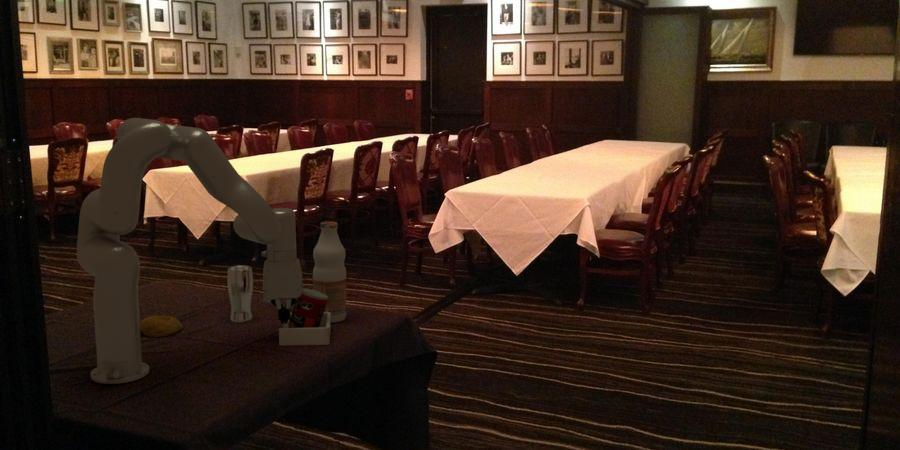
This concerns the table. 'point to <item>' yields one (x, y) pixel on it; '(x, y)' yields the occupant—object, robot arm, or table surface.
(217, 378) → the table surface
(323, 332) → the box
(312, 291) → the canned food
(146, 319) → the bagel
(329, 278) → the fruit juice
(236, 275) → the beer glass
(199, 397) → the table surface
